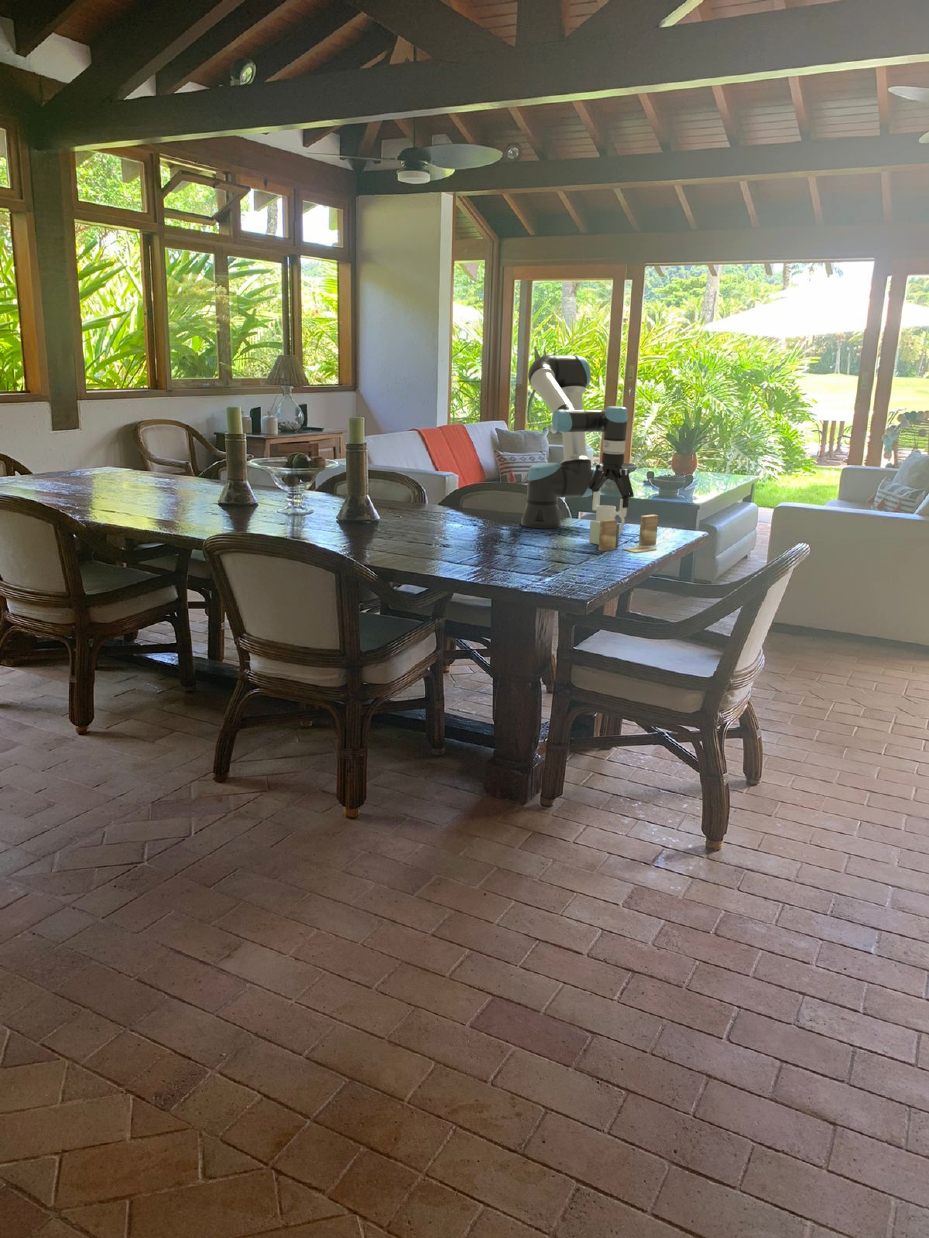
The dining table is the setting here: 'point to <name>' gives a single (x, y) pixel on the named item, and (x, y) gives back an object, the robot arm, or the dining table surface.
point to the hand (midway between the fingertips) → (608, 513)
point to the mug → (608, 514)
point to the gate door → (596, 532)
